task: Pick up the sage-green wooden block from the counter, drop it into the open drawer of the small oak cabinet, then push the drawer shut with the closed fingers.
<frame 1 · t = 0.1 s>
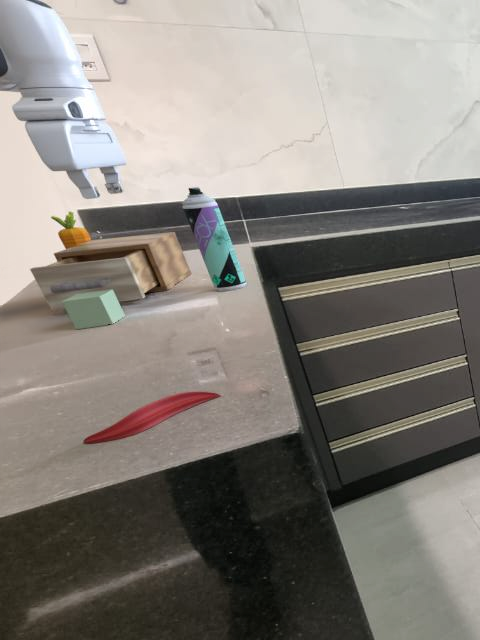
hand: (105, 195, 93), 20 cm above the counter, tool pointing down, fingers open, 8 cm apart
block: (101, 322, 92), on the counter
cayenne pepper: (158, 420, 58), on the counter
drawer: (101, 278, 102), point 5 cm above the counter, slide at 9.0 cm
cabinet: (139, 286, 115), on the counter
spray can: (231, 288, 110), on the counter
carrot: (94, 276, 128), on the counter
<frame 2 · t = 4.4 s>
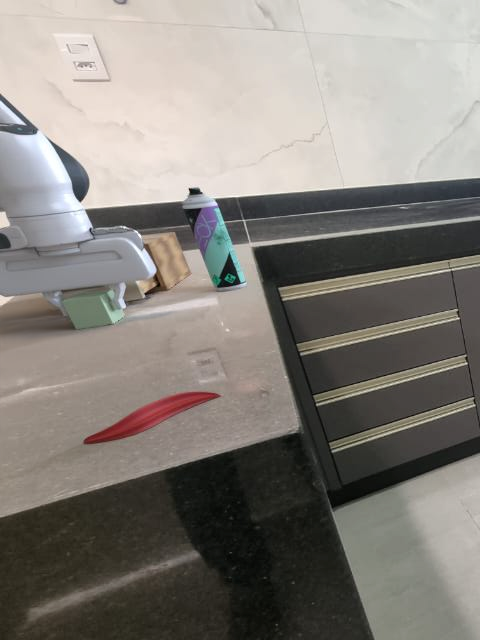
hand: (96, 312, 91), 2 cm above the counter, tool pointing down, fingers closed on block, 5 cm apart
block: (101, 322, 92), on the counter, touching gripper
everything else where it was.
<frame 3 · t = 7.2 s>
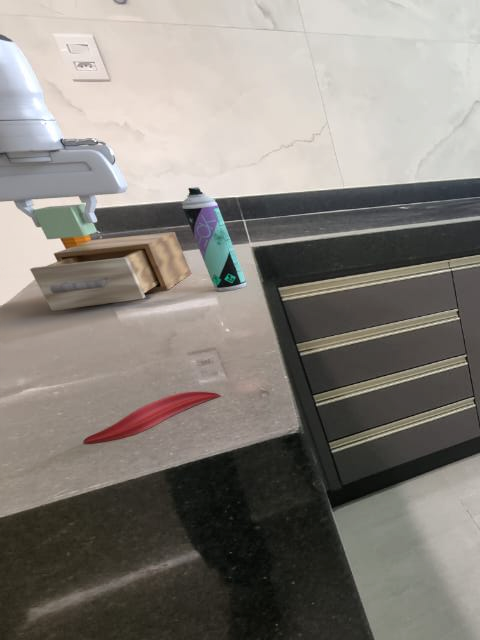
hand: (67, 224, 94), 16 cm above the counter, tool pointing down, fingers closed on block, 5 cm apart
block: (73, 235, 94), point 14 cm above the counter, touching gripper
everything else where it was.
when the fingers open (10 cm above the counter, at t = 10.0 s): block drops 6 cm, resting on drawer.
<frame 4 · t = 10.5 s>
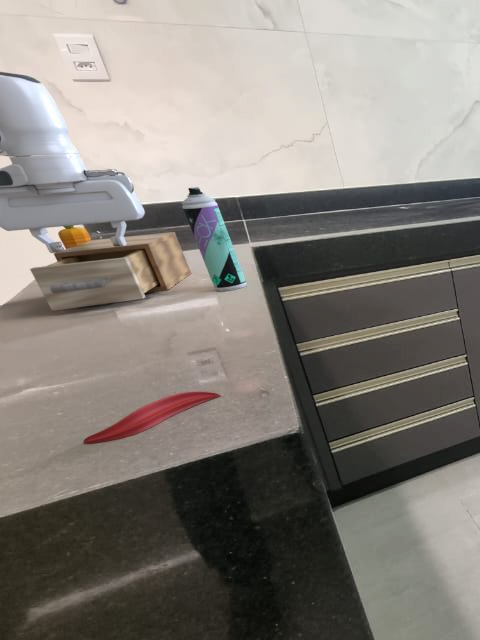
hand: (89, 249, 101), 10 cm above the counter, tool pointing down, fingers open, 8 cm apart
block: (109, 290, 104), point 2 cm above the counter, touching drawer
drawer: (101, 278, 102), point 5 cm above the counter, slide at 9.0 cm, touching block
everything else where it was.
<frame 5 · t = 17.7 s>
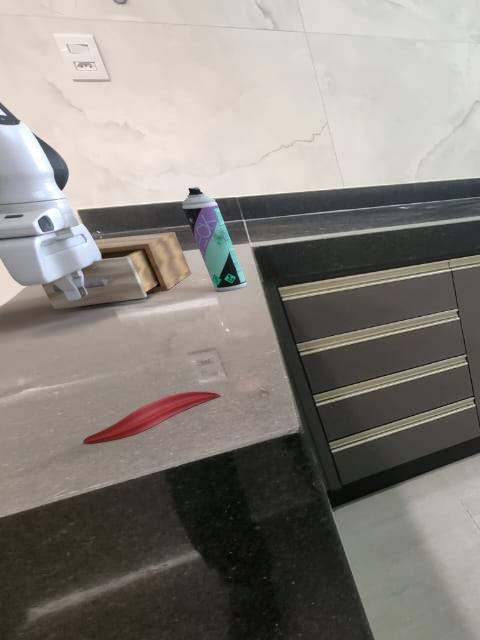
hand: (78, 298, 94), 4 cm above the counter, tool pointing down, fingers closed
drawer: (103, 277, 103), point 5 cm above the counter, slide at 8.1 cm, touching block, gripper
everything else where it was.
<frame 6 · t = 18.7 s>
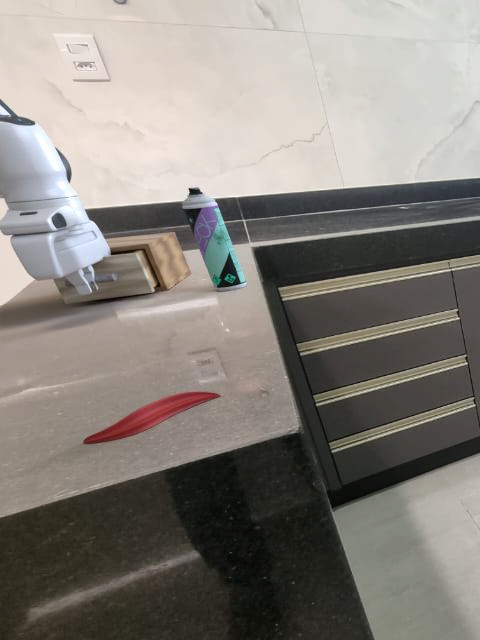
hand: (89, 292, 98), 4 cm above the counter, tool pointing down, fingers closed
block: (120, 285, 108), point 2 cm above the counter, touching drawer
drawer: (112, 272, 106), point 5 cm above the counter, slide at 4.1 cm, touching block, gripper
everything else where it was.
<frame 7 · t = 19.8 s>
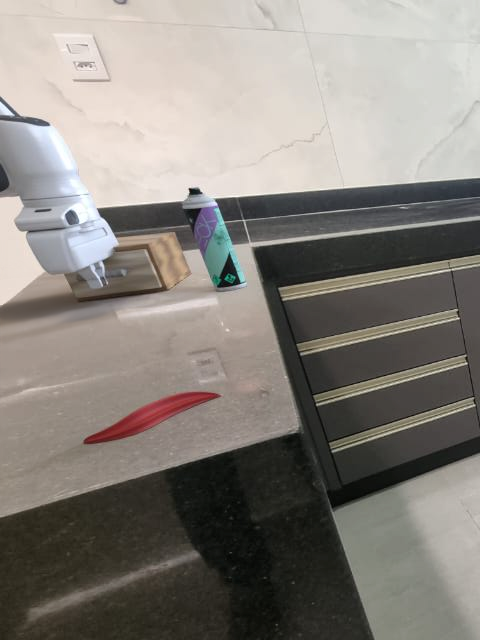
hand: (100, 287, 101), 4 cm above the counter, tool pointing down, fingers closed
block: (128, 280, 112), point 2 cm above the counter, touching drawer
drawer: (121, 268, 110), point 5 cm above the counter, slide at 0.0 cm, touching block, cabinet, gripper
everything else where it was.
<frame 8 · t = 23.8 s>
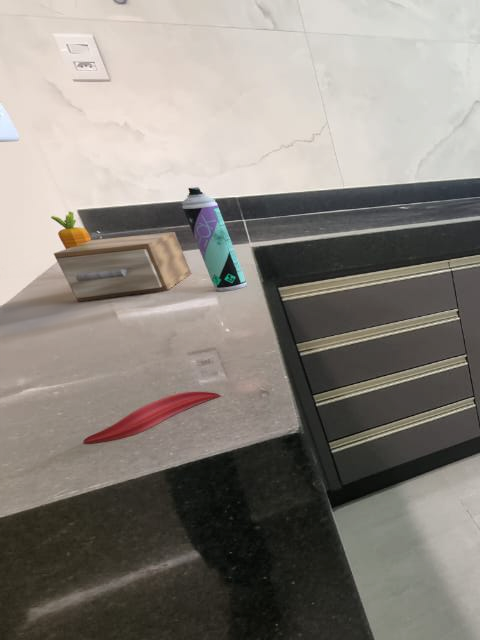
drawer: (121, 268, 110), point 5 cm above the counter, slide at 0.0 cm, touching block
everything else where it was.
at the end: block inside the target area in the cabinet (3.0 cm from its centre), point 2.1 cm above the cabinet's base; drawer slide at 0.0 cm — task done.
